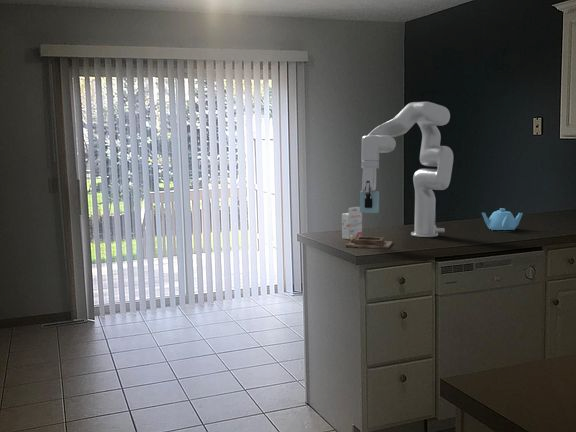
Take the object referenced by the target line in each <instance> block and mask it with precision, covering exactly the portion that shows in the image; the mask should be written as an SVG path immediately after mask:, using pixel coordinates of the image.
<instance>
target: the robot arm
mask: <svg viewBox="0 0 576 432" xmlns="http://www.w3.org/2000/svg"><path fill="white" fill-rule="evenodd" d="M450 119H451V114H450V110H449V109H448V108H447V107H446V106H443V105H441V104H437V103H434V102H430V101H413V102H409V103H408V104H406V105H405V106H404V108H402V109H401V110H400V111H399V113H398V114H396V115H395V116H394V117H393V118H391V119H390V120H388V121H386V122H384V123H382V124H380V125H378V126H376V127H375V128H374V129H373V130H371V131H370V132H369V133H368V134H367V135H363V136H362V137H361V149H360V150H361V154H360V155H361V161H360V162H361V165H360V166H361V167H360V169H362V177H361V179H362V180H361V191H365V208H372V191H376V189H377V169H380V153H381V154H383V153H391V152H393V151H394V150H395V148H396V145H397V143H396V140H395V138H396V137H399V136H402V135H405V134H406V133H407V132H408V131H409V130H410V129H411V128H412V127H413V126H414V125H415V124H417V125H418V127H419V128H420V131H421V136H422V137H421V145H420V152H419V162H420V164H421V165H423V166H425V167H437V168H419V169H417V170H416V171H415V172H414V174H413V177H412V180H413V181H412V182H413V187H414V231H411V232H410V235H411V236H413V237H418V238H419V237H420V238H434V237H438V236H439V233H445V228H444V227H442V228H441V227H437V225H436V202H437V201H436V196H435V195H436V194H435V192H434V191H433V190H436V191H444V190H447V188H449V185H450V183H451V179H452V173H453V164H454V152H453V150H452V148H450V146H447V145H441V139H442V137H441V132H440V130H439V128H438V126H439V127H440V126H444V125H447V124H448V123H449V122H450Z"/></svg>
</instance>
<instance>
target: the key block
mask: <svg viewBox="0 0 576 432" xmlns="http://www.w3.org/2000/svg"><path fill="white" fill-rule="evenodd" d="M359 207H360V213H362V214H363V213H364V214H365V213H367V214H378V213H379V212H380V211H379V210H380V191H379V190H374V191H372V208H365V191H362V190H360V191H359Z"/></svg>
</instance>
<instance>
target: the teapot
mask: <svg viewBox="0 0 576 432" xmlns="http://www.w3.org/2000/svg"><path fill="white" fill-rule="evenodd" d="M481 215H482V217H483V219H484V223H485V225H486V226H487V228H488V229H489V230H490V229H491V231H493V230H513V231H515V230H516V229H517V227H518V226H519V224H520V222H521V218H522V216H523V212H518V214H517V215H516V216H514V215H513V213H512V212H511V211H506V208H503V207H502V208H501V207H500V208H499V210H496V211H493V212H492V213H491V215H490V216H489V217H488V216H487V214H486V212H481Z"/></svg>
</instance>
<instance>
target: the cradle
mask: <svg viewBox="0 0 576 432" xmlns="http://www.w3.org/2000/svg"><path fill="white" fill-rule="evenodd" d="M392 245H393V241H391V240H385V237H382V236H363V235H362V236H358V237H357V238H355V239H354V235H351V236H350V239H349V242H348V243H346V244H345V248H354V247H358V248H361V249H377V250H378V249H382V250H388V249H390V248H391V246H392Z"/></svg>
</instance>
